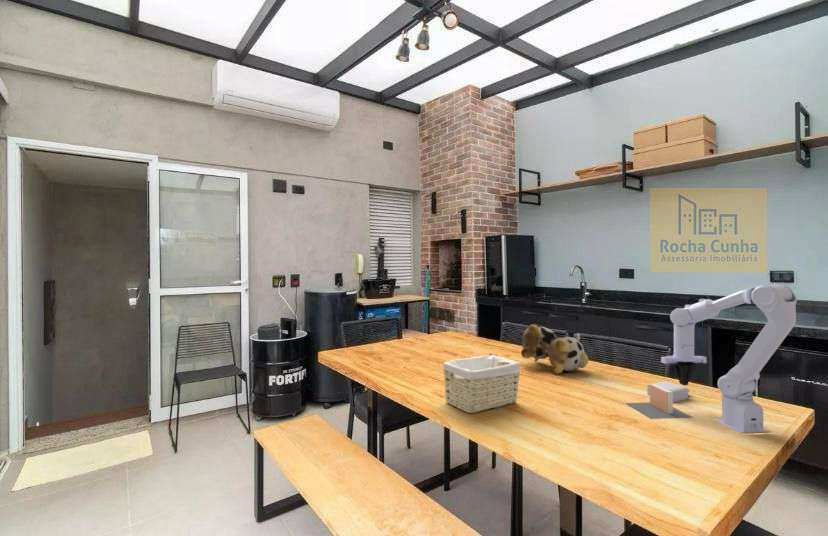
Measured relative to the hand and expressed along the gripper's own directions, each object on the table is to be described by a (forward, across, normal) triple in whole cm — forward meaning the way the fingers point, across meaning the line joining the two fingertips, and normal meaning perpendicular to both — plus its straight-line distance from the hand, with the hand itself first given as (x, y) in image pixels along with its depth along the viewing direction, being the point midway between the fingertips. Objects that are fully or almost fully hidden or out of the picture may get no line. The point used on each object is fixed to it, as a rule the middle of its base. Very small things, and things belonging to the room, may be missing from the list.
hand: (683, 384), depth 133 cm
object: (+9, +66, -11) cm, 68 cm away
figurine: (+9, +57, -54) cm, 79 cm away
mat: (+8, +10, +1) cm, 13 cm away
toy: (+9, +22, -55) cm, 60 cm away
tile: (+8, +8, 0) cm, 11 cm away
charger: (+9, -5, -12) cm, 16 cm away
